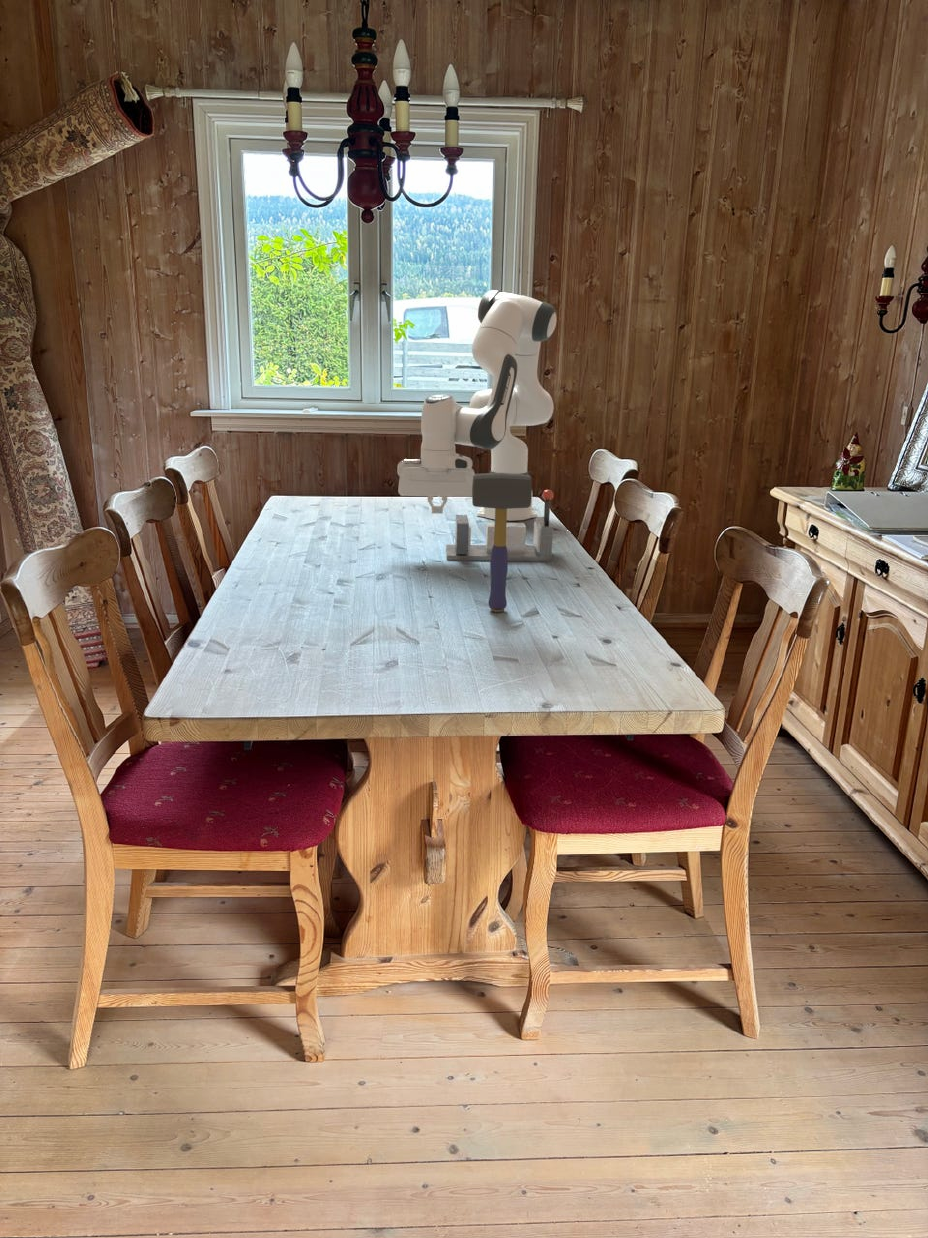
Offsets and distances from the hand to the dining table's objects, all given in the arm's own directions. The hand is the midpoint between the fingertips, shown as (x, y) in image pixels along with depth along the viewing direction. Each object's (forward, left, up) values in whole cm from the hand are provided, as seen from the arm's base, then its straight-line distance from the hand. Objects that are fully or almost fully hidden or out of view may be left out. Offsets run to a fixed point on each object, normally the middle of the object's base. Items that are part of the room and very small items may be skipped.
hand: (437, 513), depth 255 cm
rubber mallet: (+48, +13, -11) cm, 51 cm away
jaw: (-1, +7, -10) cm, 12 cm away
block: (-1, +18, -10) cm, 21 cm away
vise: (-1, +16, -11) cm, 20 cm away
